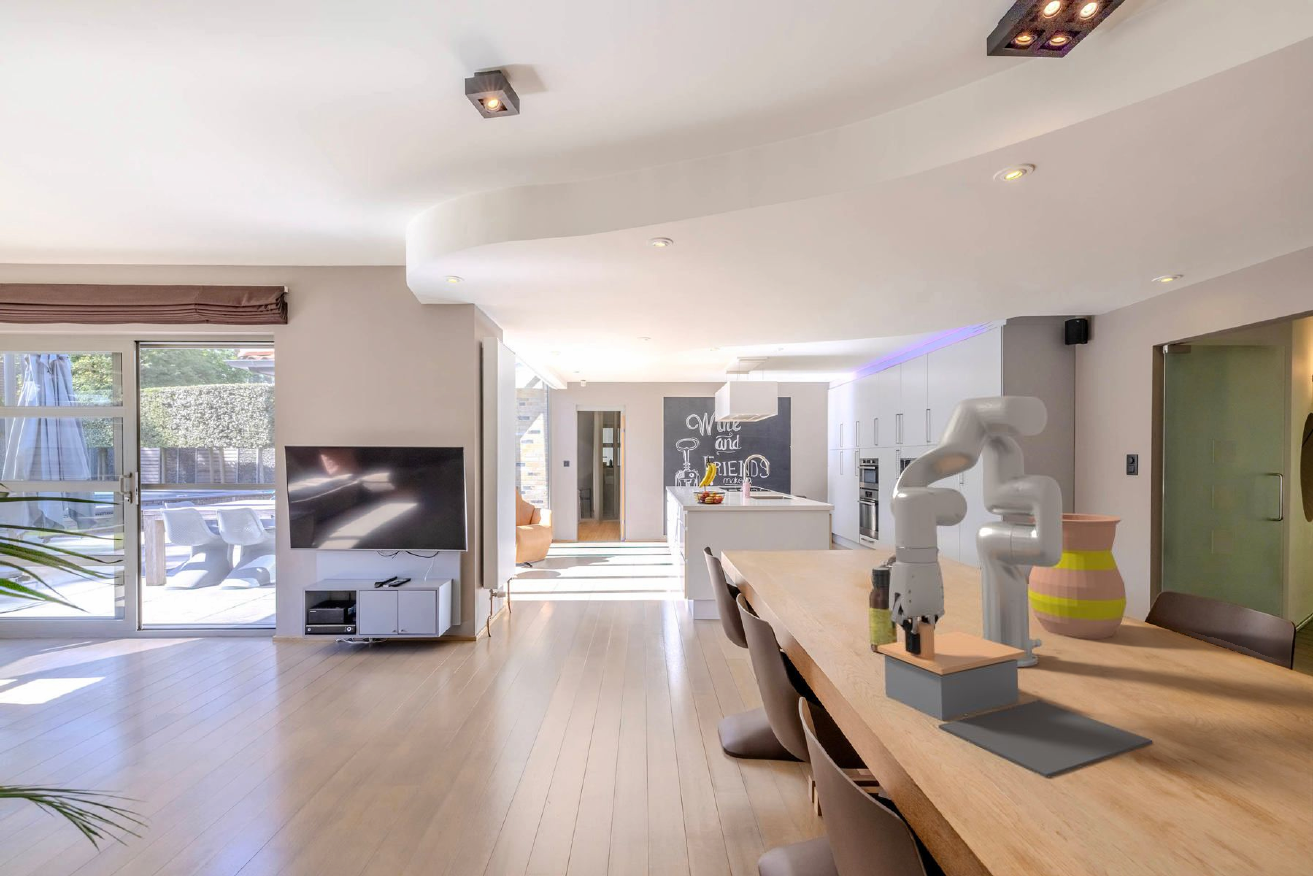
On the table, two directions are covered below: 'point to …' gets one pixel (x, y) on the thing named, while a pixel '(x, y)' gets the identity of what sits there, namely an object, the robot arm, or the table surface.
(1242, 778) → the table surface
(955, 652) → the lid
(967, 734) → the mat
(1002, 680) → the tub
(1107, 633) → the vase
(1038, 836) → the table surface
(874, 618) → the sauce bottle
